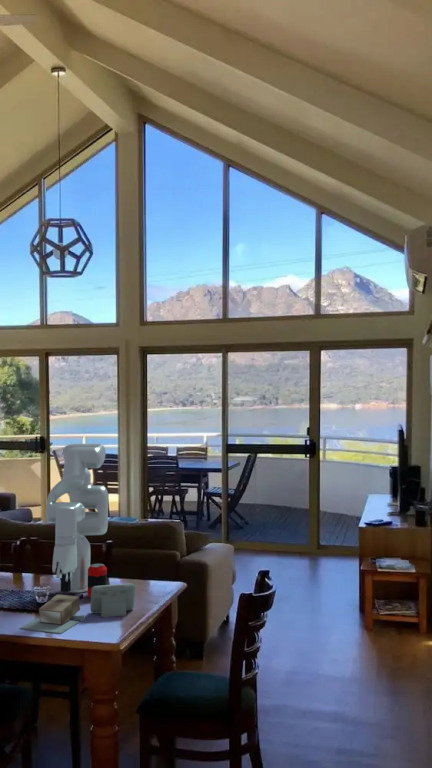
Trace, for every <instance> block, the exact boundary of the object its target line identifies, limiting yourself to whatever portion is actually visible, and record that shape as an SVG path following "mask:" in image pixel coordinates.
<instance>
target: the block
mask: <svg viewBox="0 0 432 768" xmlns="http://www.w3.org/2000/svg"><path fill="white" fill-rule="evenodd" d="M80 610H81V605H80V596H76V595H70V594H69V595H67V594H60V593H59V594H56V595H54V596H52V598H51V599H50V600H48V601H47V602H46V603H45V604H43V605H41V607H39V608H38V616H39V617H38V618H40V623H48V624H56V625H63V624H64V623H66V622H67V621H68V620H71V619H70V618H71V617H72V616H74V615H75V614H77V613H78V612H79V611H80Z"/></svg>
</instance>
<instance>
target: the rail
mask: <svg viewBox="0 0 432 768" xmlns="http://www.w3.org/2000/svg"><path fill="white" fill-rule="evenodd" d="M69 620H71V621H79V622H81V621H82V622H83V621H84V620H85V615H84V614H77V613H76V614H75V615H74V616H72V617H71V618H70V619H69Z"/></svg>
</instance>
